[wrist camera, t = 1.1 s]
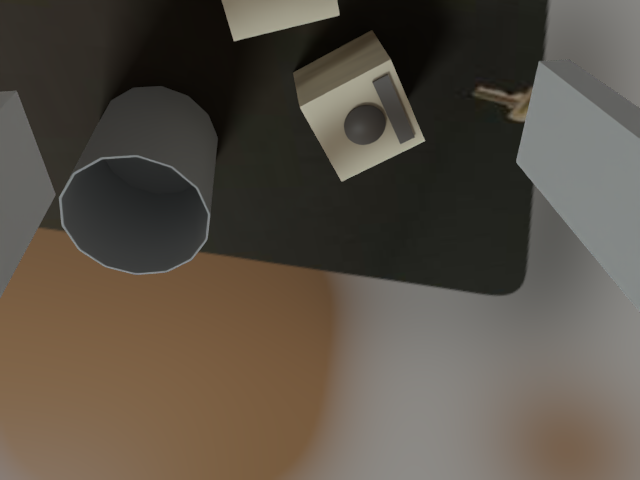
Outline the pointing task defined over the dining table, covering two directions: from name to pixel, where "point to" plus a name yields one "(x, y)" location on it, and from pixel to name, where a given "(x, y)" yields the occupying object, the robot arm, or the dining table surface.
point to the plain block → (274, 15)
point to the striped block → (357, 106)
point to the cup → (143, 183)
